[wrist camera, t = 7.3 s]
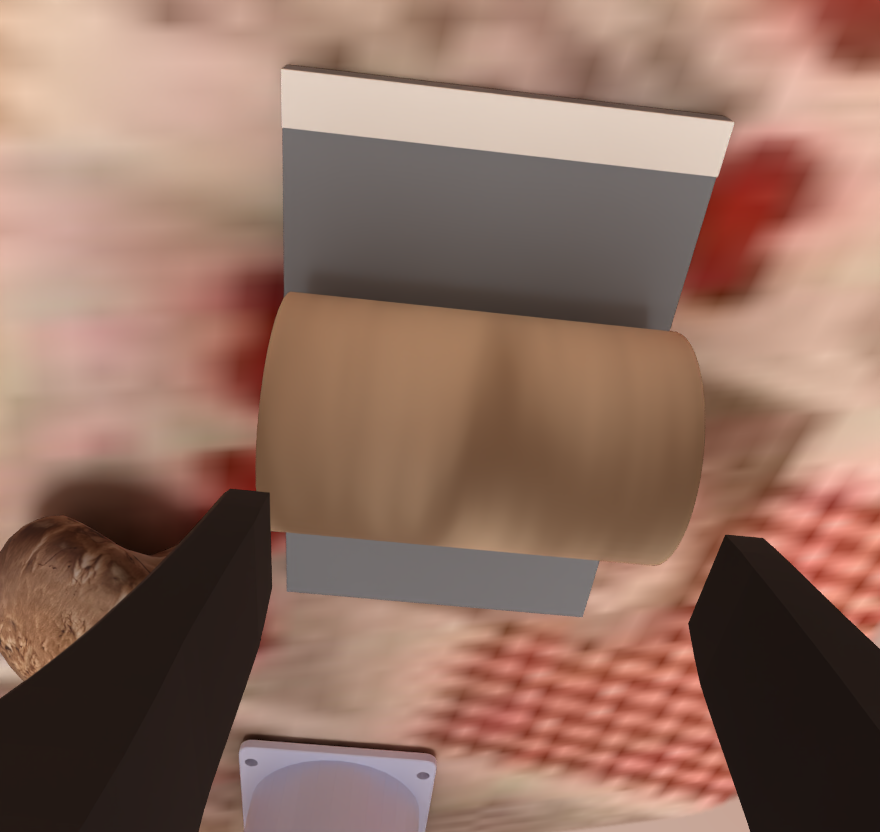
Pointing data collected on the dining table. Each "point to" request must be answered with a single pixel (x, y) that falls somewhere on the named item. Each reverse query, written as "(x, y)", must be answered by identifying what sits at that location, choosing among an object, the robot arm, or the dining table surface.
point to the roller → (479, 430)
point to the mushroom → (60, 587)
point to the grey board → (483, 257)
